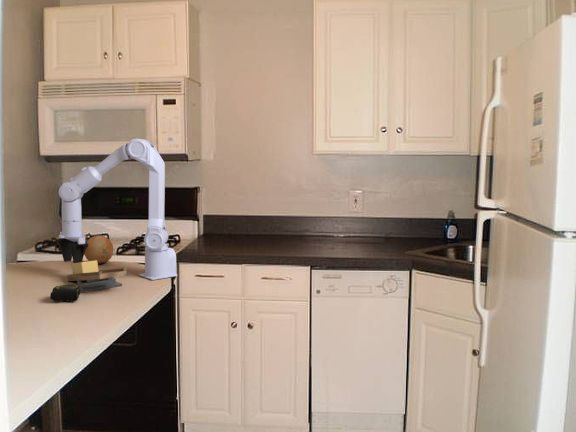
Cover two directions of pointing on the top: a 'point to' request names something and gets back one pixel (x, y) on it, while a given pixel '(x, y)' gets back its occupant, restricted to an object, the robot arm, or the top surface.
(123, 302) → the top surface
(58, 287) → the tape measure
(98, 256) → the onion
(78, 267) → the block
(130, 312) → the top surface
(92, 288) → the pivot stand
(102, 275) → the beam
